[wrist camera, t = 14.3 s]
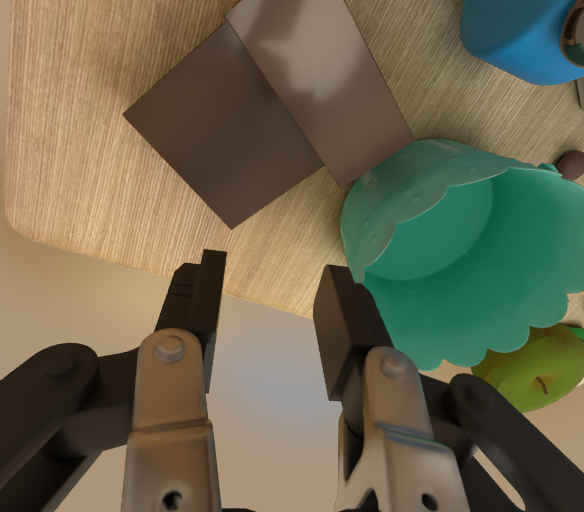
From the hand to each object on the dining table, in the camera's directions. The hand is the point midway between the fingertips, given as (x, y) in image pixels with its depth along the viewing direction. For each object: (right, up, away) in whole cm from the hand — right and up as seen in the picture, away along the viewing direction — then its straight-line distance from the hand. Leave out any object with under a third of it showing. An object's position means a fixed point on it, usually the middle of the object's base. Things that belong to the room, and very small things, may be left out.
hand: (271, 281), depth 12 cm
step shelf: (-2, +14, +19) cm, 24 cm away
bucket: (+14, +5, +27) cm, 31 cm away
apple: (+28, -8, +37) cm, 47 cm away
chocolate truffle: (+29, +10, +25) cm, 39 cm away
